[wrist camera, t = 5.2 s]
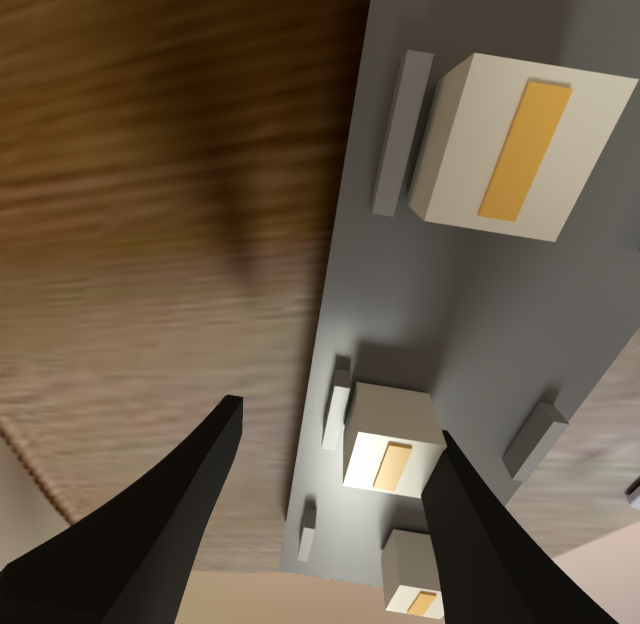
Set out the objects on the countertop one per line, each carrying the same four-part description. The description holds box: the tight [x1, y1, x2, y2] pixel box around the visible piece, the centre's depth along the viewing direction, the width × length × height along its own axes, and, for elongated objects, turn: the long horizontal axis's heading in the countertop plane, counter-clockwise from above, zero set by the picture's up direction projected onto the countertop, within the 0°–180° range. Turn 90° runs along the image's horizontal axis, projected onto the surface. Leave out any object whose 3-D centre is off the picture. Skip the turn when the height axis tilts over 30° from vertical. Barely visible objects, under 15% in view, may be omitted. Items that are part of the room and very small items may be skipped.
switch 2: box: [406, 53, 639, 242], centre depth 7 cm, size 3×3×3 cm
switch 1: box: [381, 529, 444, 619], centre depth 17 cm, size 3×3×3 cm
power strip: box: [278, 0, 640, 587], centre depth 14 cm, size 11×32×4 cm, turn 172°
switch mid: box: [343, 382, 447, 498], centre depth 12 cm, size 3×3×3 cm
